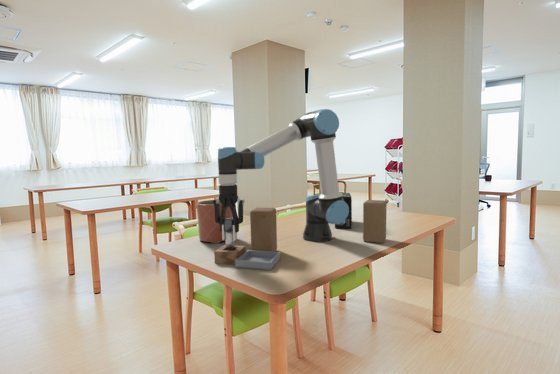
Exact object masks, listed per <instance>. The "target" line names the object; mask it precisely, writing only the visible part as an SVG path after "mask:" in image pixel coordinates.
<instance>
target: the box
mask: <svg viewBox="0 0 560 374" xmlns="http://www.w3.org/2000/svg"><path fill="white" fill-rule="evenodd" d="M341 193H342V195H343V201H345V202H346V203H347V204H348V207H349V214H348V216H347V218H346V219H345V221H344V222H342V223H340V224H334V229H353V227H352V226H353V222H352V221H353V220H352V219H353V217H352V216H353V215H352V213H353V212H352V210H353V209H352V204H353V201H352V200H353V199H352V197H353V196H351V193H350V192H341Z"/></svg>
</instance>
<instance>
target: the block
mask: <svg viewBox="0 0 560 374" xmlns="http://www.w3.org/2000/svg"><path fill="white" fill-rule="evenodd" d="M362 207H363V208H362V210H363V211H362V213H363V214H362V217H363V219H362V226H363V227H362V229H363V231H362V240H363V242H365V241H366V242H365V243H373V242H376V244H384V242H385V241H386V238H387V201H386V200H381V199H380V200H379V199H367V200H366V201H364V202H363V205H362Z"/></svg>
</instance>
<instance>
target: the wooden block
mask: <svg viewBox="0 0 560 374" xmlns="http://www.w3.org/2000/svg"><path fill="white" fill-rule="evenodd" d="M249 220H250V250H257V251H275V252H277V249H278V234H277V208H275V207H255V208H254V209H252V210H250V212H249Z"/></svg>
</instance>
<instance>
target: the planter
mask: <svg viewBox="0 0 560 374" xmlns="http://www.w3.org/2000/svg"><path fill="white" fill-rule="evenodd" d="M213 200H214V199H207V200H206V199H205V200H200V201H198V202H196V209H197V211H196V212H197V213H196V214H197V223H198V224H197V225H198V226H197V227H198V237H199V241H201V242H207V243H213V244H220V243H221V242H226V239H225V240H222V232H221V231H220V224H219V223H216V222H215V208H214V203H213ZM219 202H220V201H219ZM219 206H220V216H221V210H222V208H221V207H222V203H221V202H220V203H219ZM225 218H233V216H232V212H231V209H230V207H228V206H227V210H226V215H225Z"/></svg>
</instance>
